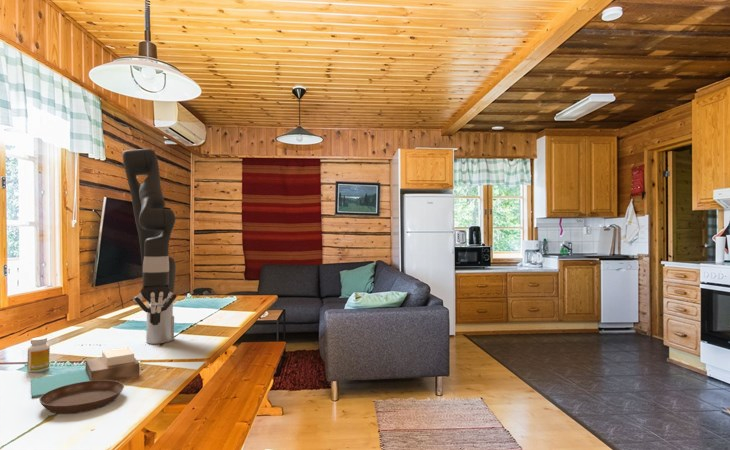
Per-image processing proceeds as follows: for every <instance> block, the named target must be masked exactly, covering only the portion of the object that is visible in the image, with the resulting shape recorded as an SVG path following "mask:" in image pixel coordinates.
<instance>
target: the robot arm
mask: <svg viewBox="0 0 730 450" xmlns="http://www.w3.org/2000/svg"><path fill="white" fill-rule="evenodd" d="M158 160H159V159H158V156H157V153H156V152H155V150H154V149H153V148H141V149H140V148H139V149H127V150H123V152H122V163H123V168H124V173H125V176H126V180H127V184H128V187H129V192H130V197H131V203H132V209H133V216H134V220H135V225H136V230H137V234H138V235H137V236H138V241H139V246H140V247H139V248H140V249H139V250H140V259H141V268H142V285H141V286H142V287H141V289H140V293H138V295H136V296H133V297H132V299H133V301H134V302H135V303H136V304H137V305H138V306H139V307H140V308H141V310H142V311H144V312H145V313H146V332H145V333H146V335H145V337H146V341H145V342H146V343H147V344H152V345H153V344H154V345H155V344H157V345H158V344H164V343H168V342H172V341H174V340H175V316H174V301H175V300H176V299H177V297H178V295H177V294H176V293H174V291H175V285H176V284H175V280H176V271H177V270H176V261H175V259H174V257H171V256H169V247H170V245H169V244H170V239H171V235H172V232H173V230H174V227H175V224H176V214H175V212H174V211H173V210H171V209H169V208H165V204H166V203H165V197H164V195H163V190H162V187H161V186H162V184H161V173H160V167H159V161H158ZM143 175H147V176H146V177H145V179H144V180H143V181H142V183H140V182H139V180H138V178H137V176H143ZM144 299H145V301H146V304H145V303H144V302H143V300H144Z"/></svg>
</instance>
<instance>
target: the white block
mask: <svg viewBox="0 0 730 450" xmlns="http://www.w3.org/2000/svg"><path fill="white" fill-rule="evenodd" d="M101 357H102V359H103V361H104V363H105V364H106V366H112V365H118V364H124V363H129V362H134V358H135V353H134V352H133V351H132V350H131V349H130V347H122V348H115V349H107V350H102V355H101Z"/></svg>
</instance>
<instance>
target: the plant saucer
mask: <svg viewBox="0 0 730 450" xmlns="http://www.w3.org/2000/svg"><path fill="white" fill-rule="evenodd" d="M124 388H125V386H124V384H123V383H122V382H120V381H110V380H96V381H86V382H79V383H74V384H70V385H66V386H62V387H59V388H56V389H53V390H51V391H49V392H47V393H45V394H43V395H42V396H41V397H39V403H40V404H41V406H42V407H43V408H44V409H46V410H47V411H48V412H50V413H53V414H57V415H72V414H74V415H75V414H81V413H86V412H91V411H94V410H98V409H100V408H103V407H105V406H108V405H109V404H111V403H112V402H114V401H115V400H116V399H117V398H118V397H119V395H120V394H121V393H122V391H123V390H124Z"/></svg>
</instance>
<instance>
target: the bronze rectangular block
mask: <svg viewBox="0 0 730 450" xmlns="http://www.w3.org/2000/svg"><path fill="white" fill-rule="evenodd" d="M84 370H85V371H86V373H87V375H88V377H89V380H90V381H96V380H110V381H117V382H120V381H124V380H129V379H134V378H140V362H139V360H137V358H136V357H134V362H129V363H124V364H118V365H112V366H106V364H105V363H104V361H103V359H102V356H100V357H93V358H86V359H85V369H84Z"/></svg>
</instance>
